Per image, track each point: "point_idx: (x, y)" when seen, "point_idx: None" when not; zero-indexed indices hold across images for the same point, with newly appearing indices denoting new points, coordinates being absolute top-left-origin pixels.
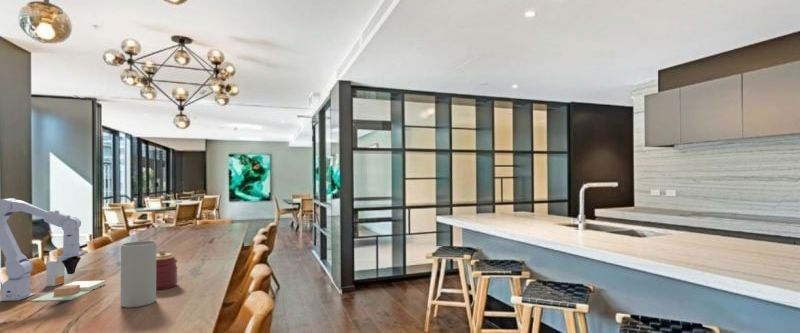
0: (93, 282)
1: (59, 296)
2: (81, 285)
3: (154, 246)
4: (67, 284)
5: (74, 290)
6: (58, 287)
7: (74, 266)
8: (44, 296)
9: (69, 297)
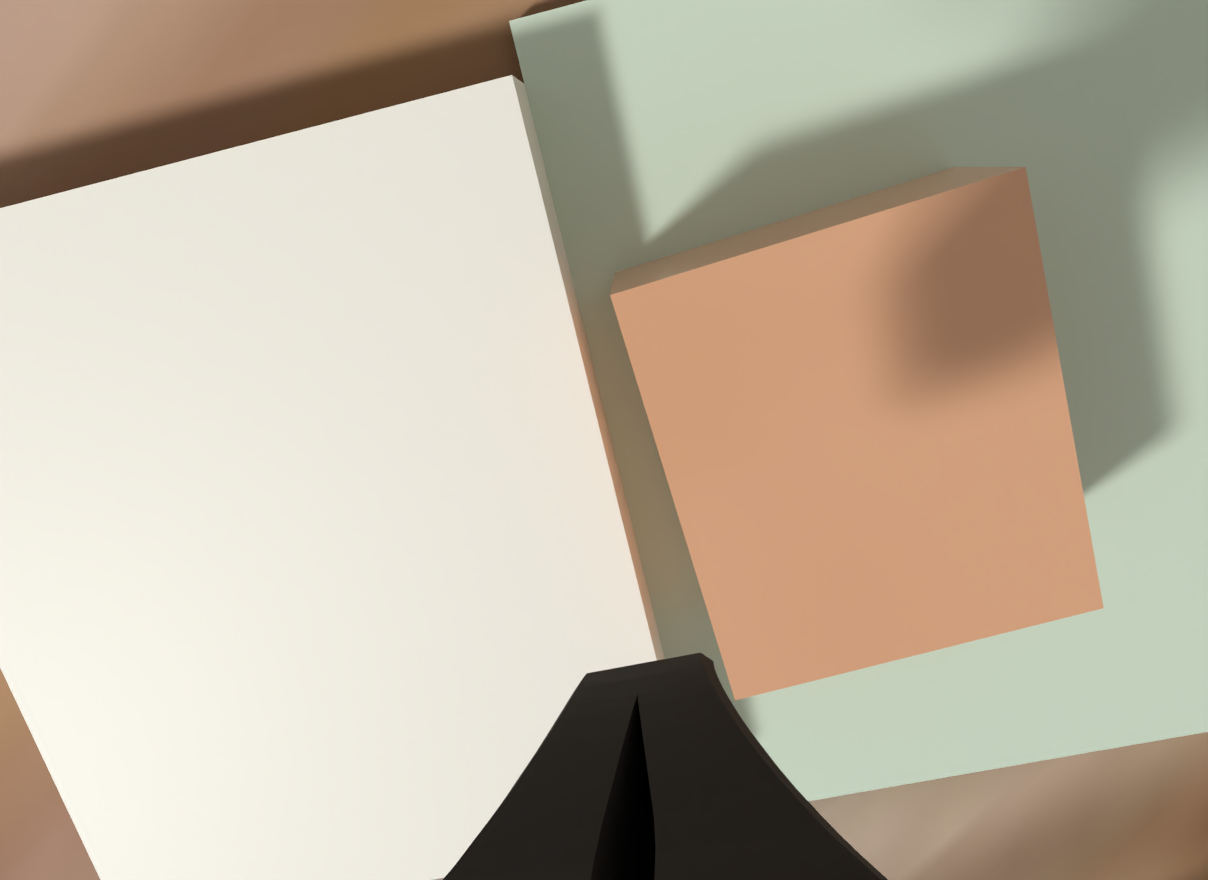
0: (75, 410)
1: (1068, 366)
2: (397, 460)
3: None
4: (385, 865)
5: (849, 209)
6: (927, 643)
7: (608, 874)
8: (1058, 697)
9: (1169, 6)
